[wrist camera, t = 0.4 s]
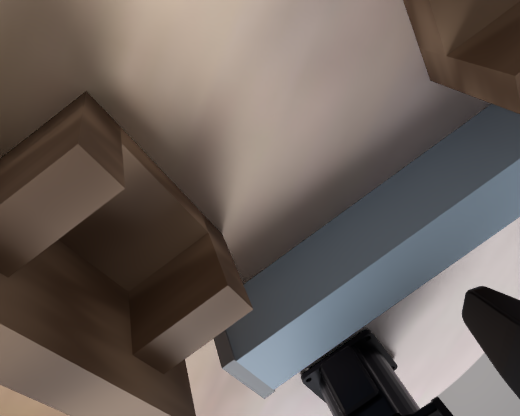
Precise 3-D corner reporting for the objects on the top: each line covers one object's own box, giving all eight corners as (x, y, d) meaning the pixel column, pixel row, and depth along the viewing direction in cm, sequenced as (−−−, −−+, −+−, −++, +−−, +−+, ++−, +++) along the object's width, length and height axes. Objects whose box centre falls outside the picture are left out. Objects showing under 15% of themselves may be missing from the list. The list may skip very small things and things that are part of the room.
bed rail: (516, 145, 27) (581, 175, 23) (243, 341, 28) (264, 398, 24) (504, 91, 24) (575, 115, 20) (205, 309, 25) (222, 368, 22)
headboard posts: (515, 54, 23) (676, 93, 16) (147, 324, 25) (162, 456, 18) (453, -276, 15) (723, -458, 8) (-88, 158, 16) (-216, 289, 10)
